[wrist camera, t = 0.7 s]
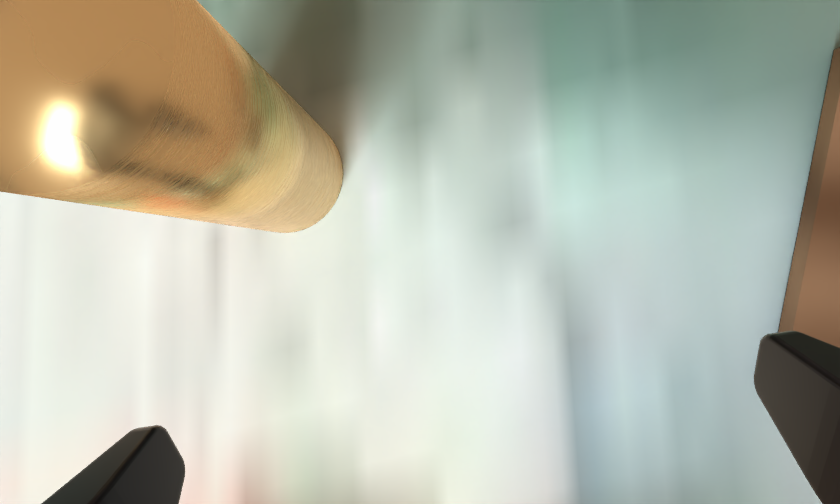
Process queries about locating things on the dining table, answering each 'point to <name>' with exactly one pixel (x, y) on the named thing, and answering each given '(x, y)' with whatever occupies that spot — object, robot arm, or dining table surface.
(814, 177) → the collar plate
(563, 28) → the dining table surface
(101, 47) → the brass roller
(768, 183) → the dining table surface
